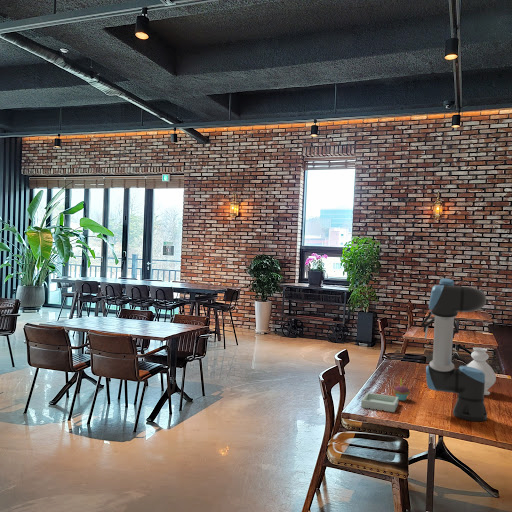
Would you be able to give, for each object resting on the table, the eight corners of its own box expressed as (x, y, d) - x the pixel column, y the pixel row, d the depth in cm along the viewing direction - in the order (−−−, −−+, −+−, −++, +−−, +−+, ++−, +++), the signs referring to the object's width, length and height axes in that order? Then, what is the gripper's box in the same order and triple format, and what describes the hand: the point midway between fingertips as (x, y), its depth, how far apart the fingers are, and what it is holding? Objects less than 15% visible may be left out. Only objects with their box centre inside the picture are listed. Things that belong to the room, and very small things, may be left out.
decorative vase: (458, 386, 305) (460, 344, 305) (490, 389, 301) (492, 347, 301) (464, 394, 288) (466, 350, 287) (498, 397, 284) (500, 352, 284)
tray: (394, 412, 248) (394, 405, 248) (361, 407, 254) (361, 400, 254) (398, 403, 262) (398, 397, 262) (366, 399, 268) (367, 392, 268)
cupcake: (406, 402, 266) (408, 379, 266) (390, 399, 270) (391, 376, 270) (411, 398, 273) (412, 376, 273) (395, 396, 278) (396, 373, 278)
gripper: (467, 308, 286) (461, 342, 291) (421, 299, 296) (416, 333, 302) (466, 312, 279) (460, 347, 285) (419, 303, 289) (414, 337, 295)
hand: (437, 340), depth 293 cm, fingers open, 13 cm apart
